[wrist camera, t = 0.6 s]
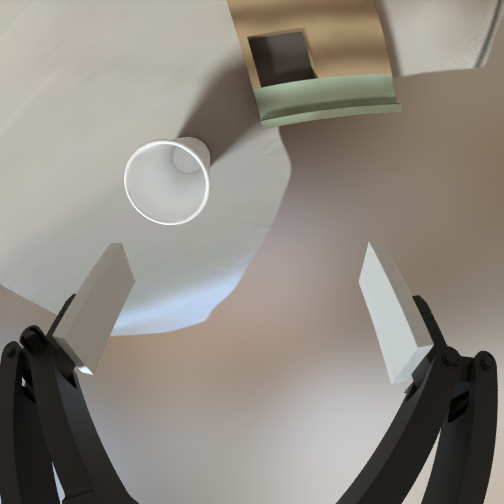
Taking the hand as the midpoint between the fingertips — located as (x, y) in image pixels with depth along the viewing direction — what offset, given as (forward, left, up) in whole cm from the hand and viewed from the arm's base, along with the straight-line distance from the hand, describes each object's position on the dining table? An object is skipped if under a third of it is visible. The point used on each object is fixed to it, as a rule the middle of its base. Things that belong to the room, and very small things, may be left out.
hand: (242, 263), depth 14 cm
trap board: (-18, +11, -26) cm, 33 cm away
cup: (-1, -9, -26) cm, 28 cm away
